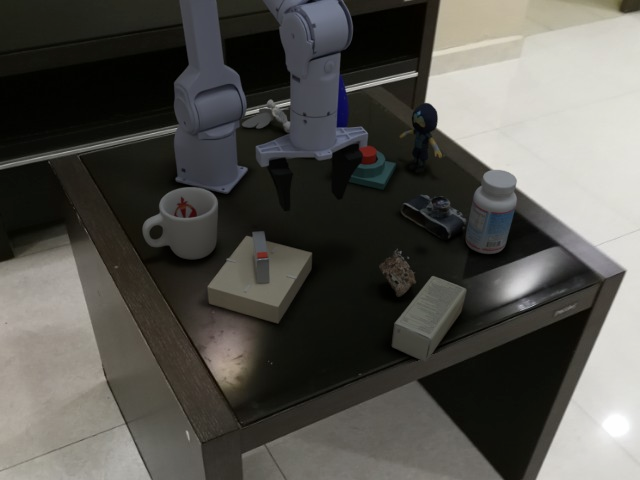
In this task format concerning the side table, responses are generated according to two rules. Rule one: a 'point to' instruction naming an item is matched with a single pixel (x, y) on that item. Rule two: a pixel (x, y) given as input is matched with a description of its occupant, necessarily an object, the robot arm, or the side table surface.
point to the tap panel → (264, 298)
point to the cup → (186, 222)
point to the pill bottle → (492, 212)
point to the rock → (398, 273)
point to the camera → (434, 215)
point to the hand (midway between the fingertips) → (311, 201)
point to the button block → (374, 173)
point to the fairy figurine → (268, 117)
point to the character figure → (423, 135)
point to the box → (428, 318)
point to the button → (368, 155)
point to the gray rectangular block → (261, 257)
